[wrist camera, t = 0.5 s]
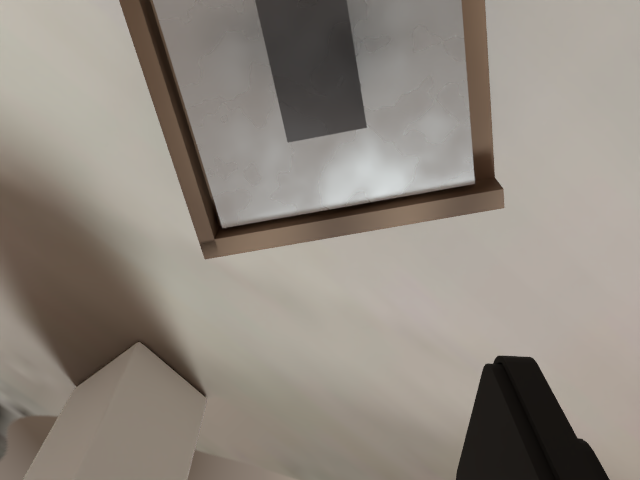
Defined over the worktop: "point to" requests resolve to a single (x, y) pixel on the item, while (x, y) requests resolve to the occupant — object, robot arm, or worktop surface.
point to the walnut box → (325, 222)
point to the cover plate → (333, 161)
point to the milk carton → (124, 425)
